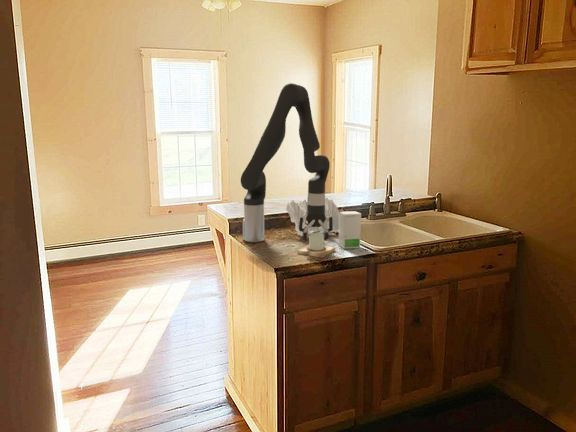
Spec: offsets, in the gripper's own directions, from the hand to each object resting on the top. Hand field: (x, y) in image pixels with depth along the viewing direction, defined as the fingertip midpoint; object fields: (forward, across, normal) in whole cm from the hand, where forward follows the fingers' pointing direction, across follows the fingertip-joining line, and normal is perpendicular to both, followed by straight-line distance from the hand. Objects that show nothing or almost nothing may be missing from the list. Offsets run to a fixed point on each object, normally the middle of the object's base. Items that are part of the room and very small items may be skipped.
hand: (315, 240), depth 215 cm
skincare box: (+5, -16, -7) cm, 18 cm away
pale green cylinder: (+3, 0, 0) cm, 3 cm away
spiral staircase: (+5, -5, -31) cm, 32 cm away
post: (+5, 0, 0) cm, 5 cm away
